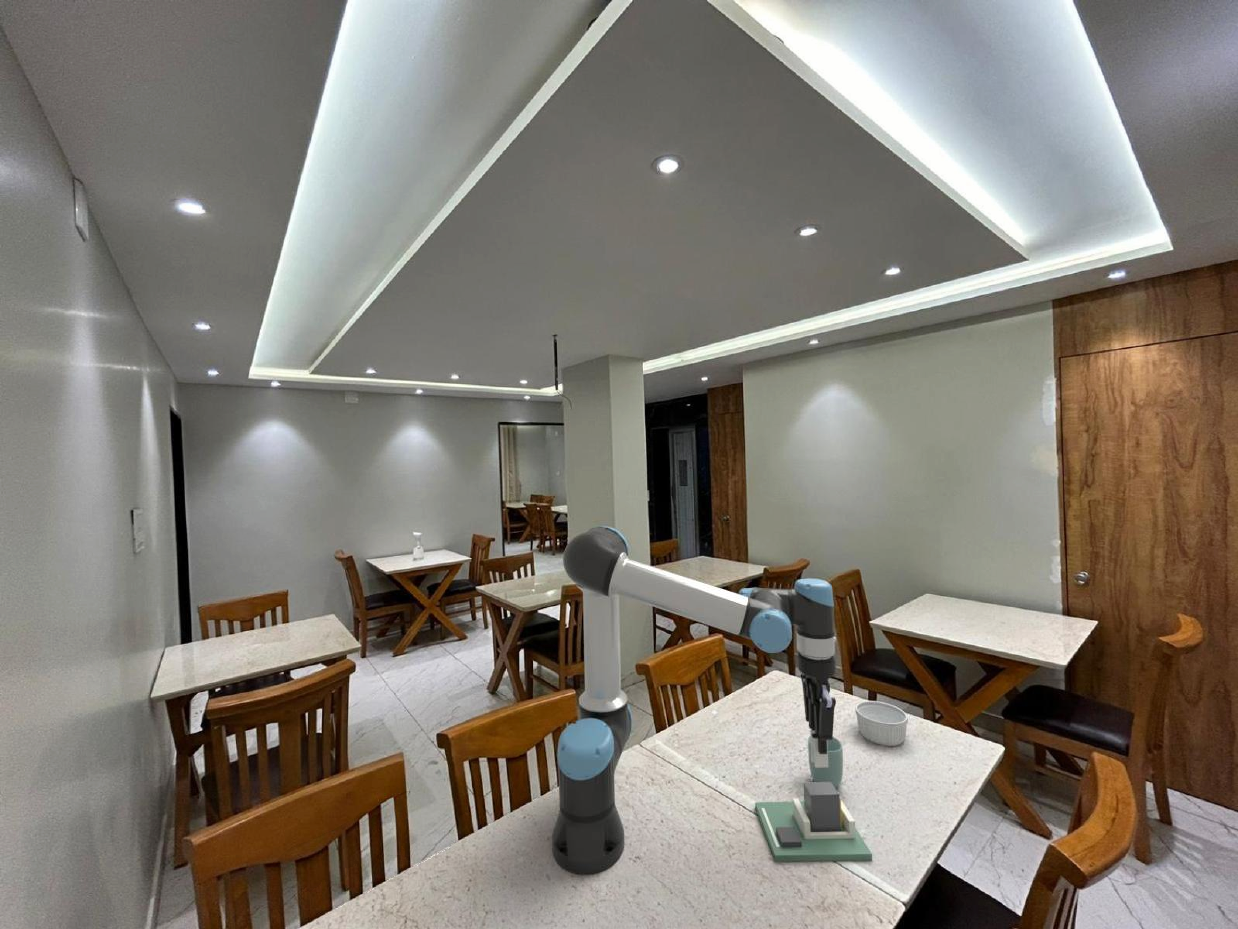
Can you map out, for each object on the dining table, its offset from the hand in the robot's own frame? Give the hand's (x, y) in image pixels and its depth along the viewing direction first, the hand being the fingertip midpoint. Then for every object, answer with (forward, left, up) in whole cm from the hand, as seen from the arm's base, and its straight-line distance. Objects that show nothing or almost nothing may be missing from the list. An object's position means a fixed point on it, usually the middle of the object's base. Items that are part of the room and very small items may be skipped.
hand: (819, 763), depth 102 cm
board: (-3, 0, -14) cm, 15 cm away
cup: (+7, +16, -15) cm, 23 cm away
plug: (0, 0, -13) cm, 13 cm away
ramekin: (+31, +36, -15) cm, 50 cm away
